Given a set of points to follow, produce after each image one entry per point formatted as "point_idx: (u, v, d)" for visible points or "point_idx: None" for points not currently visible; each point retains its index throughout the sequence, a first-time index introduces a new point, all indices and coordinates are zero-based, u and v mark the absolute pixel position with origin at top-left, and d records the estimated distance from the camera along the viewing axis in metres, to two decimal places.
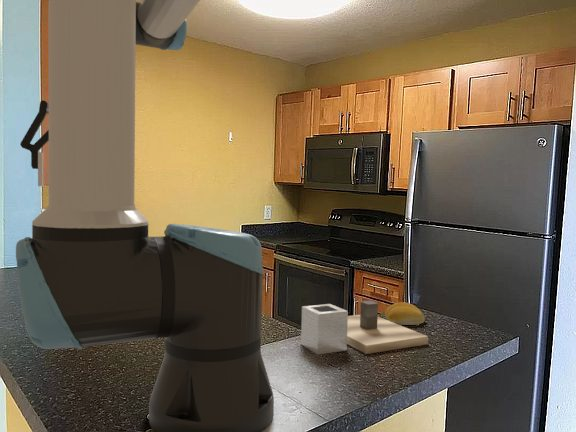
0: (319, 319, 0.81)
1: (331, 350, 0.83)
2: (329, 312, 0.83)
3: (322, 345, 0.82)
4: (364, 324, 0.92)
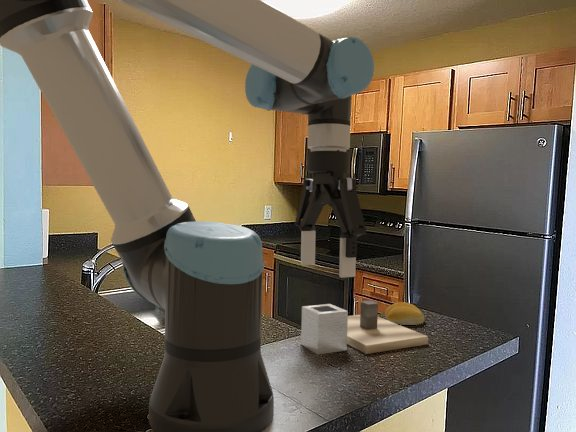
0: (319, 319, 0.81)
1: (331, 350, 0.83)
2: (329, 312, 0.83)
3: (322, 345, 0.82)
4: (364, 324, 0.92)
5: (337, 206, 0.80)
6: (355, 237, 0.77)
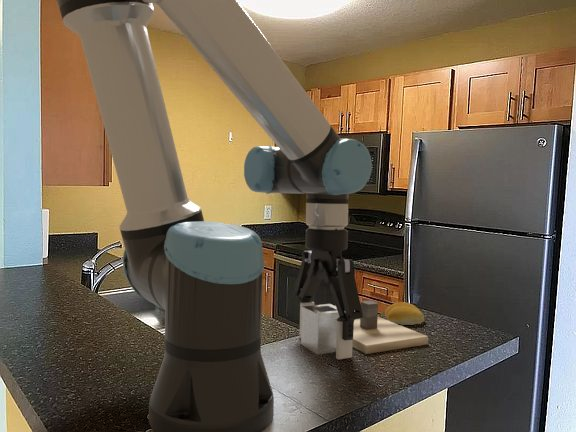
0: (319, 319, 0.81)
1: (331, 350, 0.83)
2: (329, 312, 0.83)
3: (322, 345, 0.82)
4: (364, 324, 0.92)
5: (334, 286, 0.80)
6: (352, 320, 0.78)
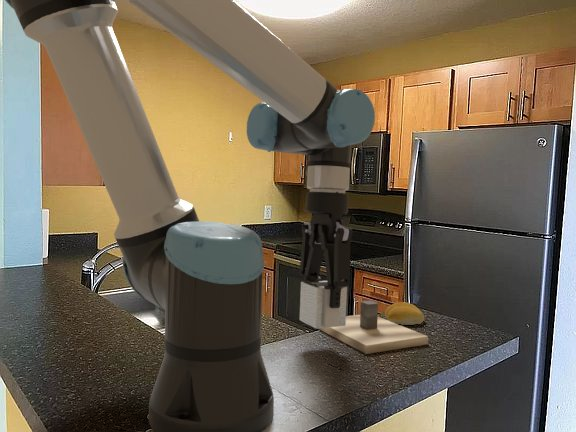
0: (318, 293, 0.81)
1: None
2: None
3: (321, 319, 0.81)
4: (364, 324, 0.92)
5: (329, 254, 0.81)
6: (339, 289, 0.80)
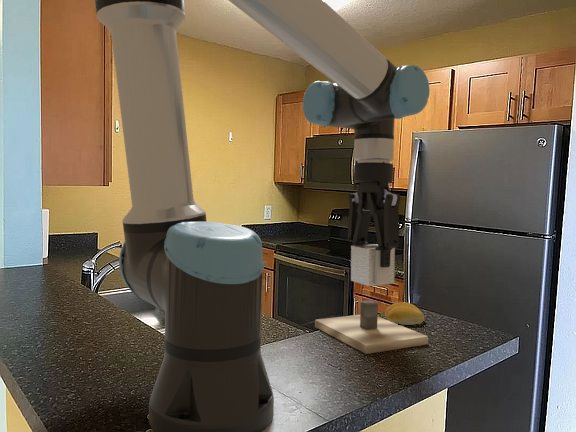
0: (370, 253, 0.89)
1: None
2: None
3: (373, 277, 0.90)
4: (364, 324, 0.92)
5: (378, 218, 0.89)
6: (389, 249, 0.88)
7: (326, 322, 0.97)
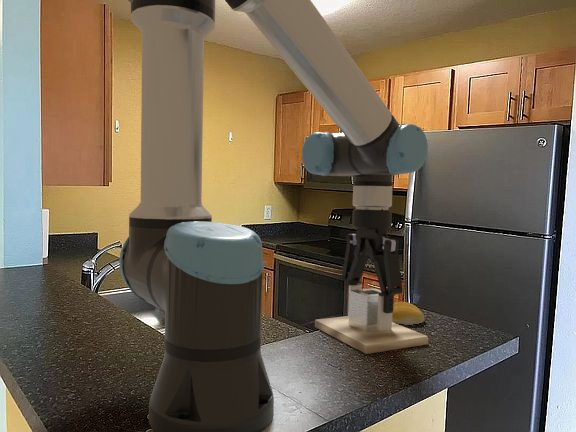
0: (368, 301, 0.89)
1: None
2: (376, 295, 0.91)
3: (370, 325, 0.90)
4: None
5: (378, 264, 0.89)
6: (392, 295, 0.87)
7: (326, 322, 0.97)
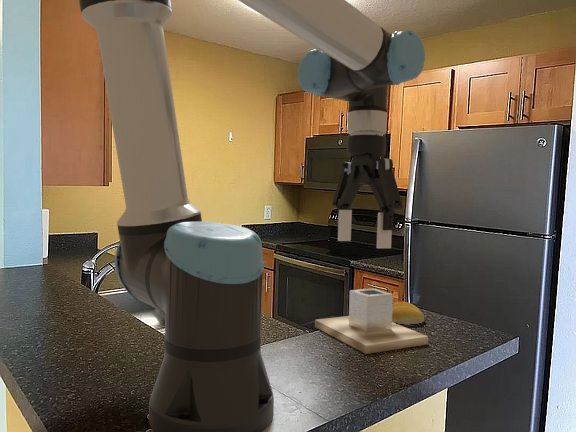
0: (368, 301, 0.89)
1: (378, 329, 0.91)
2: (376, 295, 0.91)
3: (370, 325, 0.90)
4: None
5: (375, 184, 0.88)
6: (392, 212, 0.85)
7: (326, 322, 0.97)
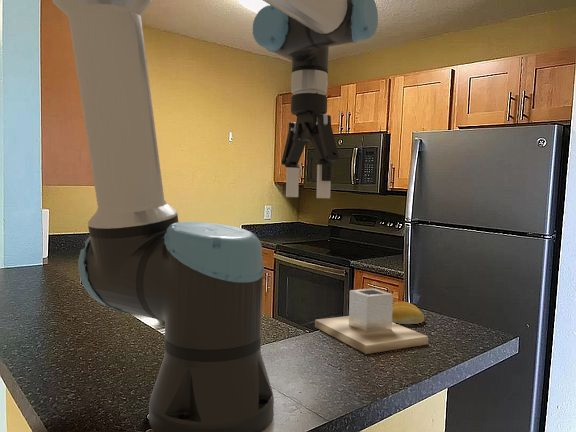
0: (368, 301, 0.89)
1: (378, 329, 0.91)
2: (376, 295, 0.91)
3: (370, 325, 0.90)
4: None
5: (315, 139, 0.94)
6: (329, 163, 0.91)
7: (326, 322, 0.97)
